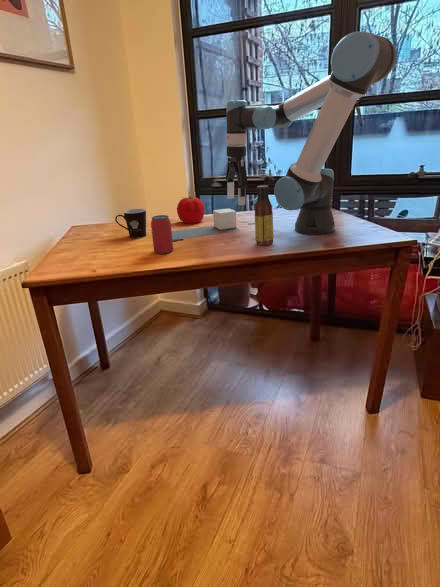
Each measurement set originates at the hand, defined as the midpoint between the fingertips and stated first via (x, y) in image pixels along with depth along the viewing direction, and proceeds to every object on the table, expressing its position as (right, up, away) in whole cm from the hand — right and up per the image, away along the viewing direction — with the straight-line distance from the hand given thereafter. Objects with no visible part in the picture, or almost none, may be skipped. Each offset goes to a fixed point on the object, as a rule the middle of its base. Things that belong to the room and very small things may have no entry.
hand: (235, 201), depth 155 cm
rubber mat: (-14, -13, -3) cm, 19 cm away
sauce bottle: (+9, -20, -20) cm, 30 cm away
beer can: (-26, -23, -24) cm, 42 cm away
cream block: (-4, -11, 0) cm, 12 cm away
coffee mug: (-41, -14, -2) cm, 43 cm away
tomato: (-19, -6, +14) cm, 25 cm away
